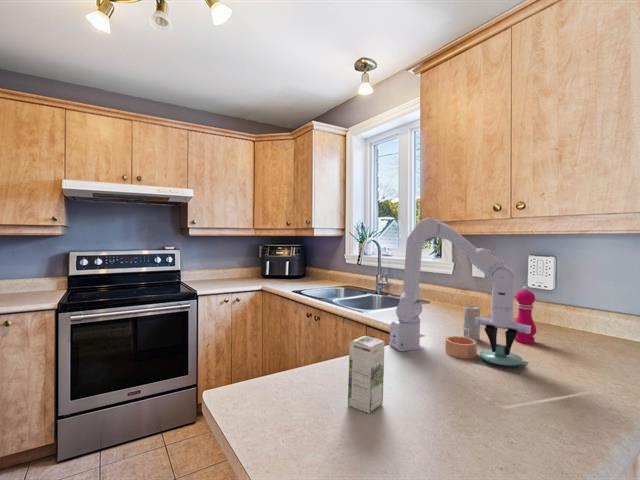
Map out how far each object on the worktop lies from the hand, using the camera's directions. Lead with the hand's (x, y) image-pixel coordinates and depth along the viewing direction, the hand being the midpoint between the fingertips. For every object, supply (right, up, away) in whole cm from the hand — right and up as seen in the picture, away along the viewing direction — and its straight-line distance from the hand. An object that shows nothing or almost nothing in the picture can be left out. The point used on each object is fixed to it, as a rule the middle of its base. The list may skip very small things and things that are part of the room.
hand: (500, 352), depth 101 cm
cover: (0, -2, 0) cm, 2 cm away
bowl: (-9, -3, +8) cm, 12 cm away
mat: (0, -3, 0) cm, 3 cm away
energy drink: (+1, -3, +22) cm, 23 cm away
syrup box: (-43, -4, -25) cm, 50 cm away
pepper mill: (+20, -3, +22) cm, 30 cm away
